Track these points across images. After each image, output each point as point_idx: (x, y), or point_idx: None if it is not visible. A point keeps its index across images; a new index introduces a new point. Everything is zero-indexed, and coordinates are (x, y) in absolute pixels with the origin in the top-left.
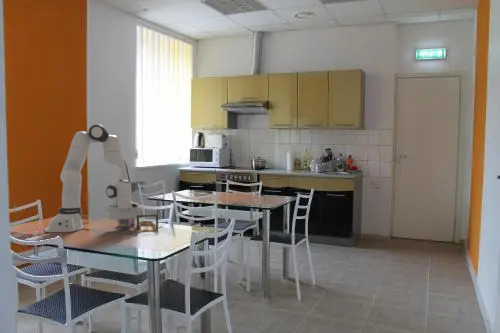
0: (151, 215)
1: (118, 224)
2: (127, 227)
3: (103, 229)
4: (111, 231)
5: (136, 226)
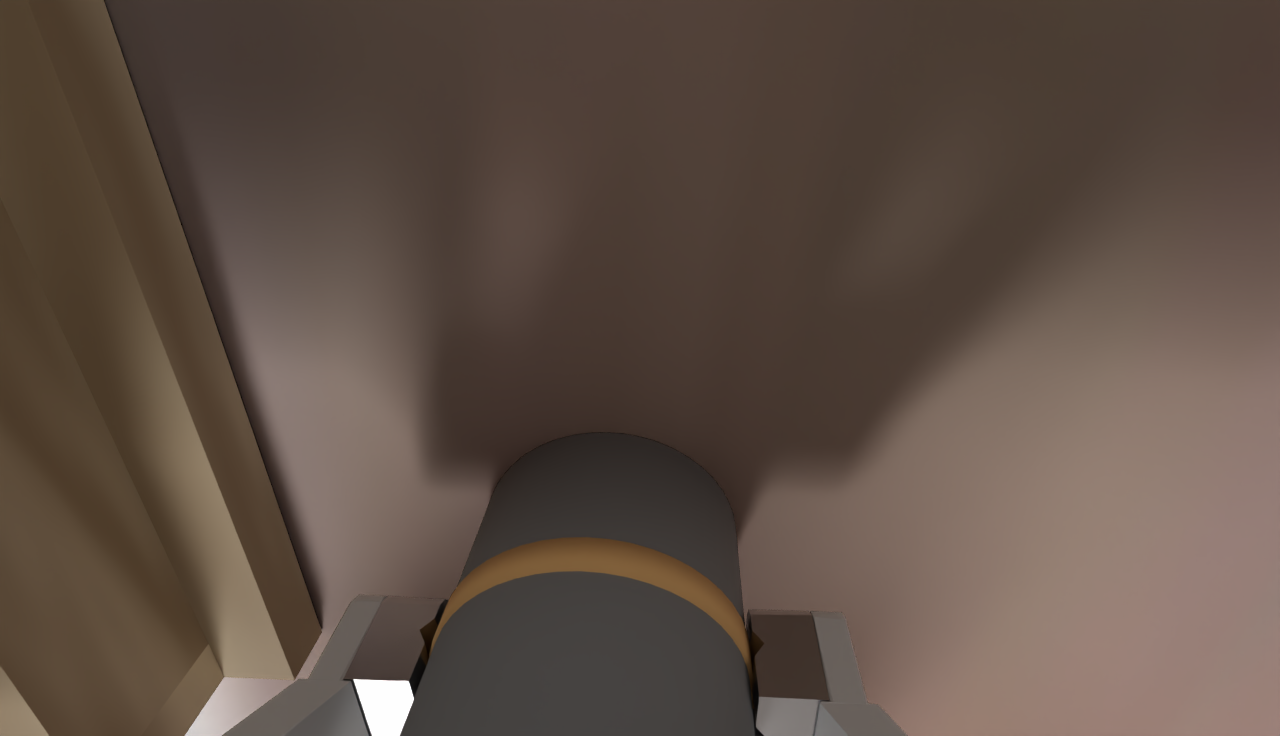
0: None
1: (853, 667)
2: (497, 508)
3: (1243, 662)
4: (1158, 286)
5: (195, 577)
